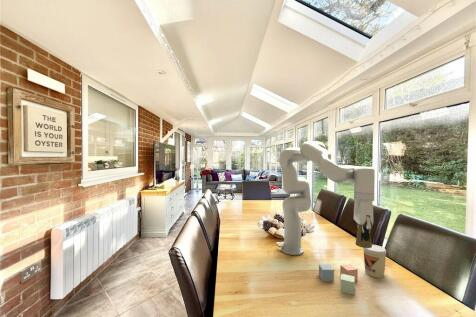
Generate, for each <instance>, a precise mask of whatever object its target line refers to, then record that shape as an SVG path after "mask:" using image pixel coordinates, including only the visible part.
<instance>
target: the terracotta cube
mask: <svg viewBox="0 0 476 317" xmlns="http://www.w3.org/2000/svg"><path fill="white" fill-rule="evenodd" d="M339 267H340V268H339V270H340V271H339V272H340V274H339V275H340V276H339V277H341V274H345V275H350V276H355V282H356V281H358V280H359V278H358V275H359V274H358V272H359V271H358V270H359V269H358V268H357V267H355V266H354V265H352V264H350V263H347V264H340V266H339Z"/></svg>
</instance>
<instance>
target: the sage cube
mask: <svg viewBox="0 0 476 317" xmlns="http://www.w3.org/2000/svg"><path fill="white" fill-rule="evenodd" d="M355 282H356V281H355V276H350V275H345V274H341V276H340V292H342V293H345V294H351V295H355Z"/></svg>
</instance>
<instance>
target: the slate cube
mask: <svg viewBox="0 0 476 317" xmlns="http://www.w3.org/2000/svg"><path fill="white" fill-rule="evenodd" d="M318 276H319V278H320V279H321V280H322V282H323V281H324V282H326V281H327V282H333V281H335V269H334V268H333V267H332V265H331V264H329V263H327V264H326V263H325V264H324V263H320V264H318Z"/></svg>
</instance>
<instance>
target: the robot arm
mask: <svg viewBox="0 0 476 317" xmlns="http://www.w3.org/2000/svg"><path fill="white" fill-rule="evenodd" d="M331 160H332V154H331V152H330V151H328V150H327V148H326V146H325V144H324V143H323V142H321V141H311V140H310V141H305V142H303V143H302V144H301V145H300V147H288V148H284V149H283V150H282V151H281V153H280V155H279V165H280V167H281V176H282V185H283V191H284V193H286V194H287V195H292V196H288V197H285V199H283V201H282V203H281V204H282V211H283V221H284V222H283V224H284V225H283V234H284V235H283V236H284V237H283V241H281V242H276V246H278V248H281V252H282V253H284V254H286V255H290V256H300V255H303V254H304V251H305V250H304V248H303V247H302V219H301V217H300V216H299V213H304V212H308V211H309V210H310V209H311V206H312V199H311V190H310V184H309V182H308V180H307V179H306V178H305V177H299V176H298V174H297V168H296V166H295V165H294V163H308V162H312V163H313V164H315V165H317V167H318V170H319V171H320V173H321V174H322V175H323V176H324V177H326V178H327V179H329V180H330V181H332V182H333V183H336V184H345V183H350V184H351V183H353V200H354V205H353V220H354V221H355V222H356V224H357V223H358V224H359V225H362V232H361V242H362V240H363V237H364V240H365V241H368V239H369V242H370V235H371V230H372V226H373V225H374V205H373V202H375V186H376V185H375V183H376V182H375V181H376V180H375V176H376V175H375V174H376V173H375V171H376V170H375V168H373V167H371V166H356V165H338V164H336V163H334V161H331ZM296 194H297V195H296ZM364 223H366V225H364ZM364 226H366V227H365V228H364ZM357 228H358V225H357Z"/></svg>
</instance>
